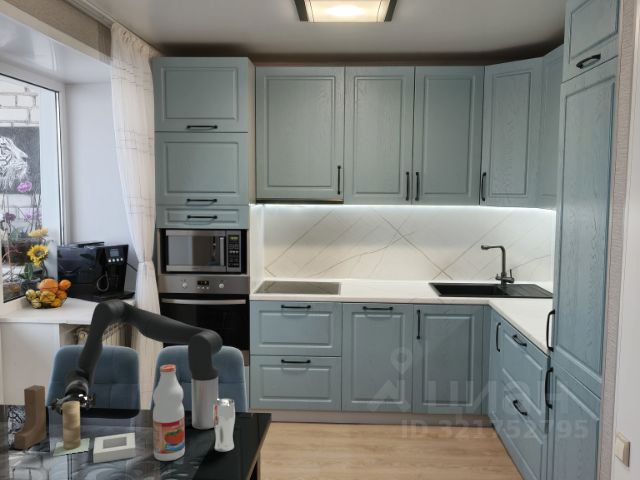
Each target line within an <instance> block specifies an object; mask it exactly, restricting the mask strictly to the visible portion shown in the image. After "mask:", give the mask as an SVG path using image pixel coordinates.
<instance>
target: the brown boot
mask: <svg viewBox="0 0 640 480" xmlns="http://www.w3.org/2000/svg"><path fill="white" fill-rule="evenodd" d="M23 394H24V395H23V396H24V397H23V399H24V423H23V426H22V428H21V429H20V431H19V430H18V432H16V433H15V434H14V435H13V440H14V441H13V443H14V444H13V445H14V449H18V450H22V451H23V450H24V451H25V450H28V449H29V448H31V447H33V446H35V445H37V444H39V443H42V442H43V441H44V440H46V439H47V419H46V418H47V415H46V414H47V413H46V388H45V386H44V385H35V384H34V385H31V386H29V387H25V388H24V389H23Z"/></svg>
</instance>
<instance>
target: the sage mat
mask: <svg viewBox="0 0 640 480" xmlns="http://www.w3.org/2000/svg"><path fill="white" fill-rule="evenodd" d="M80 439H81V446H80V447H78V448H76V449H72V450H66V449H64V445H63V441H57V442H56V443H55V448H54V451H53V454H52V457H53V458H55V457H61V455H62V456H66V454H69V455H73V454H72V453H76V454H79V453H78V452H83V453H85V452H84V451H88V452H89V449H90V442H89V441H91V438H90V437H87V438H80ZM88 448H89V449H88Z"/></svg>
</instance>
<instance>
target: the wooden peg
mask: <svg viewBox="0 0 640 480" xmlns="http://www.w3.org/2000/svg"><path fill="white" fill-rule="evenodd" d="M80 407H81V406H80V402H79V401H69V402H65V403H63V404H62V409H61V411H62V439H63V440H62V442H63V445H64V449H66V450H72V449H76V448H78V447H80V446H81V439H82V438H81V411H80V409H81V408H80Z"/></svg>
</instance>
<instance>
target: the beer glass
mask: <svg viewBox="0 0 640 480" xmlns="http://www.w3.org/2000/svg"><path fill="white" fill-rule="evenodd" d="M235 421H236V409H235V400H234V399H232V398H226V397H225V398H219V399H218V400H216V401H214V405H213V422H214V427H213V428H214V432H215V444H214V450H215V451H217V452H219V453H220V452H223V453H225V452H229V451H231V450H234V448H235V444H234V439H233V435H234V429H235V428H234V427H235Z"/></svg>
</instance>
